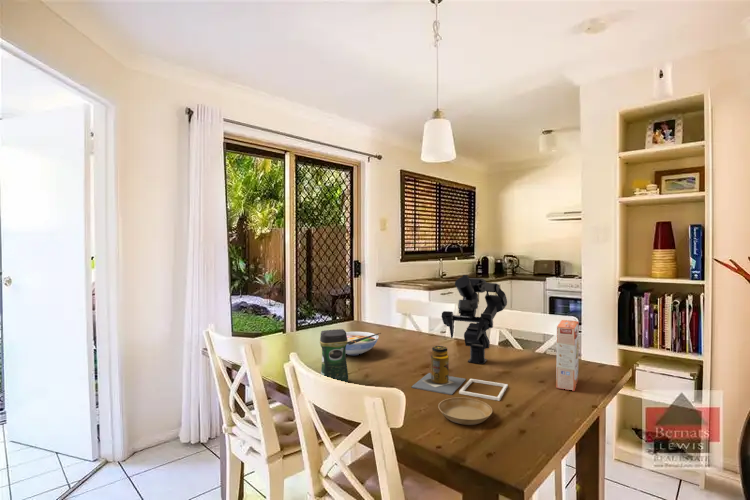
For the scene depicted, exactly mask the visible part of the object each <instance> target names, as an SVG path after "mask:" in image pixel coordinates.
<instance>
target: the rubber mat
mask: <svg viewBox="0 0 750 500" xmlns="http://www.w3.org/2000/svg"><path fill="white" fill-rule="evenodd" d="M427 379H431V372H428V373H427V374H425V375H424V376H423V377H421V378H420V379H419V380H418V381H417V382H414V384H413V385H412V386H411V388H412V389H418V390H423V391H429V392H433V393H439V394H445V395H449V396H452V395H454V393H455V392H456V391H457V390H458V389H459V388H460V387H461V386H462V385H463V383H465V381H466V380H467V379H466V378H464V377H456V376H452V375H451V376H450V375H449V381H452V382H454V383H451V384H447V385H442V386H439V387H434V386H431V385H429V384H427V383H425V382H423V381H422V380H427Z"/></svg>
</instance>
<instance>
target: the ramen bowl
mask: <svg viewBox="0 0 750 500" xmlns="http://www.w3.org/2000/svg"><path fill="white" fill-rule="evenodd" d="M381 334H382V332H378V333H372V332H368V331H346V335H347V345H346V354H347V355H346V356H359V354H360V355H362V354H363V353H364V354H365V353H366V352H369V351H370V350H371V349H373V348H374V347H375V346H376V344H377V343H378V340H379V335H381Z"/></svg>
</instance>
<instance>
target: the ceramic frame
mask: <svg viewBox="0 0 750 500" xmlns="http://www.w3.org/2000/svg"><path fill="white" fill-rule="evenodd" d="M472 383H475V384H476V383H478V384H484V385H489V386H494V387H495V386H496V387H501V390H500V392H499V394H498V395H497V396H494V395H487V394H482V393H477V392H471V391H466V390H467V389H468V387H469V386H470V385H471V384H472ZM507 389H508V383H502V382H496V381H495V382H494V381H487V380H482V379H476V378H469V380H468V381H467V382H465V384H464V385H463V386H462V387H461V388H460V389H459V391H458V394H459V395H465V396H470V397H476V398H482V399H487V400H492V401H499V402H500V401H501V399H502V397H503V395H504V394H505V393H506V391H507Z"/></svg>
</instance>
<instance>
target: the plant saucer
mask: <svg viewBox="0 0 750 500" xmlns="http://www.w3.org/2000/svg"><path fill="white" fill-rule="evenodd" d="M437 406H438V407H437V408H438V410H439V411H440V413H441V414H442V415H443V416H444V417H445V418H446V419H447V420H448V421H450V422H452V423H455V424H457V425H458V424H459V425H463V426H464V425H465V426H473V425H474V426H475V425H479V424H481V423H484V422H485V421H486V420H487V419H488V418H490V416H492V413H493V408H492V407H491V405H489V403H486V402H485V401H482V400H479V399H475V398H471V397H461V396H460V397H459V396H457V397H451V398H446V399H443V400H441V401H440V402H439V403H438V405H437Z"/></svg>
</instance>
